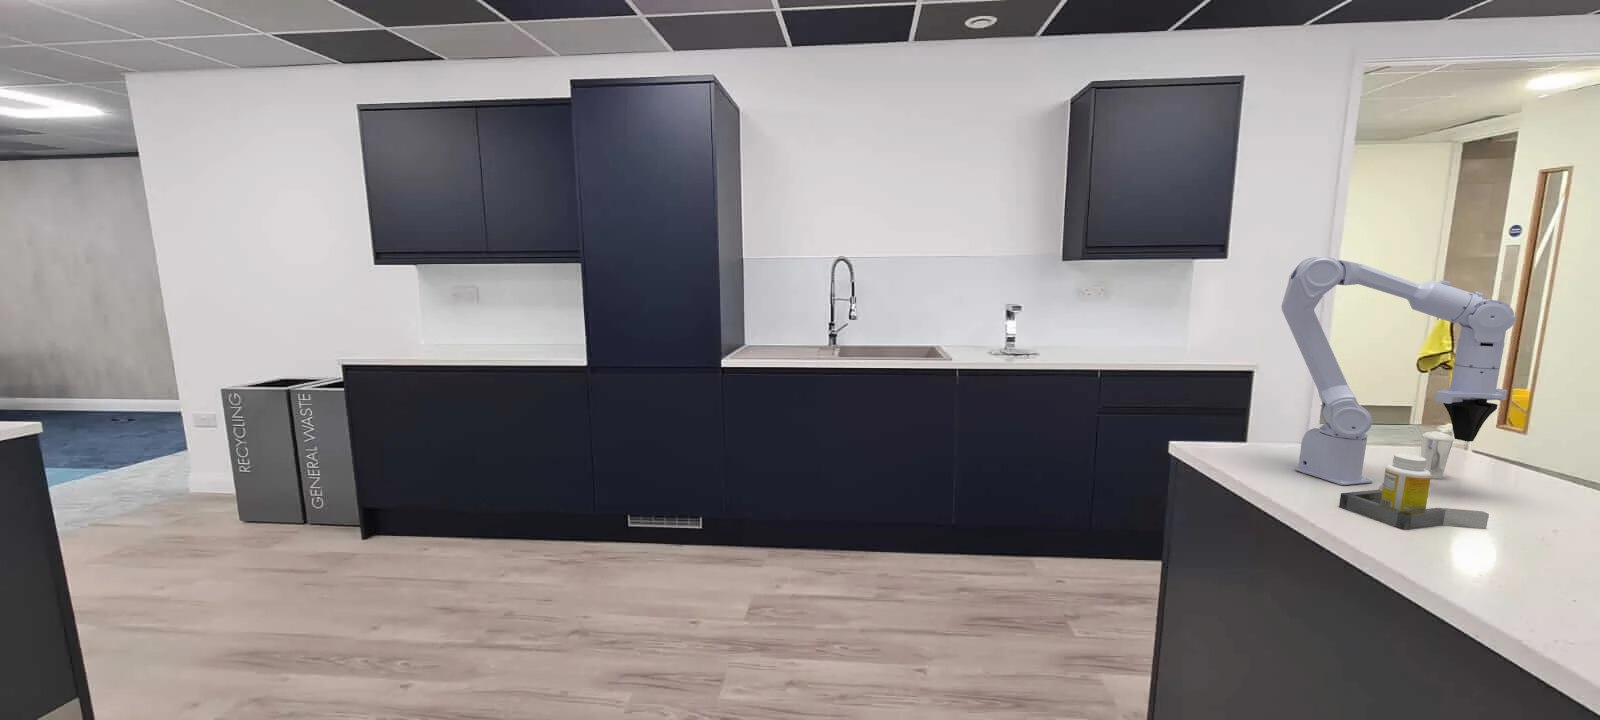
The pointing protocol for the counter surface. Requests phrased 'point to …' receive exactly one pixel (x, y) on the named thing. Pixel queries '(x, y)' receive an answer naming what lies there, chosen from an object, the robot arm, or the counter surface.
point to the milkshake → (1436, 452)
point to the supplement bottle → (1406, 483)
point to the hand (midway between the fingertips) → (1463, 440)
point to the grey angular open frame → (1409, 512)
